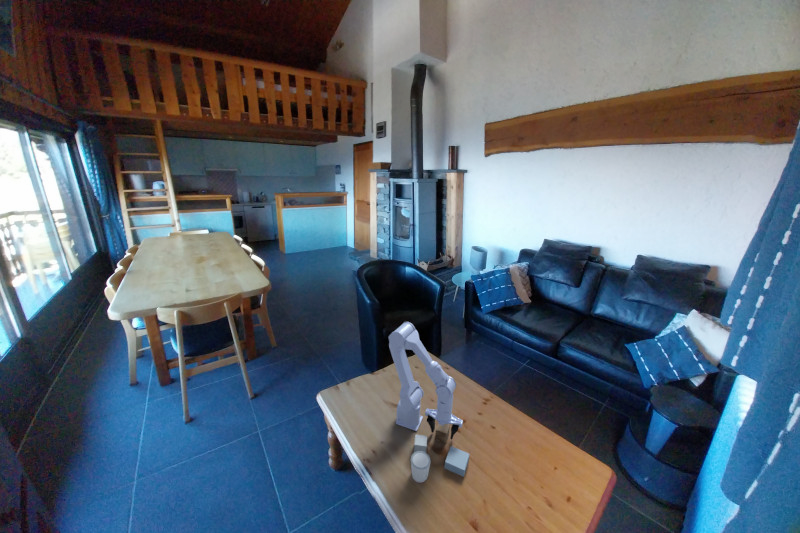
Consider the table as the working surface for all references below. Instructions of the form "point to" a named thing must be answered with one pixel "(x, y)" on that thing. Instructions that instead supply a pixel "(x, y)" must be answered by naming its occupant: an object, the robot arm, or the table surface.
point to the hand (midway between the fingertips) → (442, 434)
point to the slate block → (457, 461)
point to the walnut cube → (442, 432)
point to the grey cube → (420, 443)
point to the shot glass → (420, 466)
